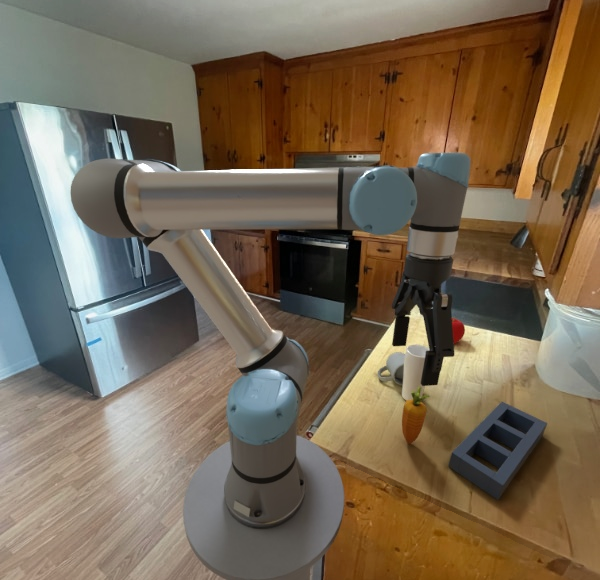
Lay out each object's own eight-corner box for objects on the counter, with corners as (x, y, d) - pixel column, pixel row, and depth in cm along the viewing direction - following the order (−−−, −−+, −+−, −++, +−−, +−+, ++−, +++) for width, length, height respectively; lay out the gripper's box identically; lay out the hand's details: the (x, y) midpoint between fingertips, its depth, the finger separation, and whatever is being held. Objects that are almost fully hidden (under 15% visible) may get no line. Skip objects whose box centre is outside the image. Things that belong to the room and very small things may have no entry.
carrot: (406, 432, 79) (415, 380, 73) (424, 444, 76) (435, 391, 70) (393, 441, 76) (401, 388, 71) (411, 455, 73) (422, 400, 67)
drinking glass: (409, 387, 96) (417, 341, 90) (429, 399, 90) (438, 352, 85) (393, 395, 92) (400, 348, 86) (413, 408, 87) (422, 360, 81)
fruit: (467, 345, 119) (473, 320, 115) (446, 348, 117) (451, 322, 113) (450, 333, 127) (455, 309, 123) (430, 336, 125) (435, 312, 121)
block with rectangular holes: (448, 466, 70) (451, 452, 69) (498, 413, 86) (501, 401, 84) (497, 500, 63) (503, 485, 62) (542, 436, 79) (547, 423, 77)
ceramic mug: (405, 369, 104) (408, 348, 101) (417, 385, 96) (420, 362, 93) (373, 371, 103) (375, 350, 100) (382, 387, 95) (385, 365, 92)
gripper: (500, 276, 44) (468, 404, 52) (418, 239, 67) (405, 332, 75) (446, 277, 43) (422, 407, 51) (382, 239, 66) (373, 333, 74)
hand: (412, 363), depth 63 cm, fingers open, 13 cm apart
